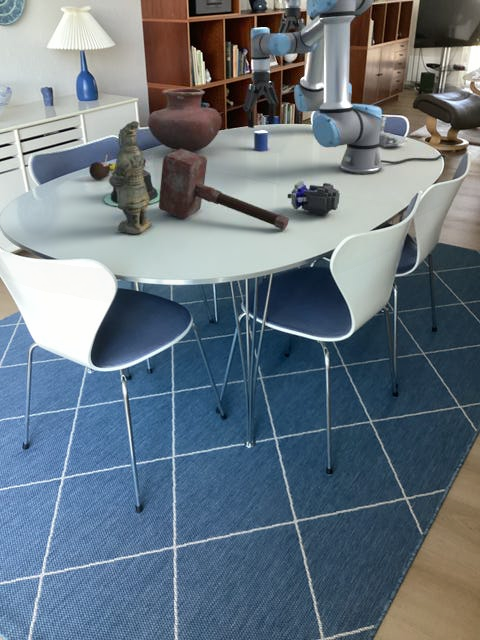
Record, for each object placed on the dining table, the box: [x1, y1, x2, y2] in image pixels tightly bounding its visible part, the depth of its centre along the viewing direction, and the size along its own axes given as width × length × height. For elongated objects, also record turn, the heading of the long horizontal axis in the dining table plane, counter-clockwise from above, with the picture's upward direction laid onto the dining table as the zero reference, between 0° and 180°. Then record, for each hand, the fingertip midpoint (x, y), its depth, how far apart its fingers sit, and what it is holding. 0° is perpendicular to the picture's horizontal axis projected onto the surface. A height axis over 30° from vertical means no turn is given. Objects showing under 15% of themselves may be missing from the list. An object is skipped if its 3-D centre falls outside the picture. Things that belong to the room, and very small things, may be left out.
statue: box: [108, 120, 153, 235], centre depth 154 cm, size 11×9×30 cm
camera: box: [378, 115, 408, 148], centre depth 239 cm, size 9×12×15 cm
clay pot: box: [147, 87, 223, 153], centre depth 235 cm, size 30×30×25 cm
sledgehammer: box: [158, 149, 290, 231], centre depth 163 cm, size 17×10×40 cm
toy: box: [287, 180, 341, 216], centre depth 168 cm, size 9×9×15 cm
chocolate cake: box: [103, 168, 160, 207], centre depth 186 cm, size 15×19×20 cm
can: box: [253, 130, 269, 152], centre depth 240 cm, size 6×6×8 cm
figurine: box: [88, 154, 147, 181], centre depth 212 cm, size 13×8×25 cm
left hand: (291, 55), depth 278 cm, fingers open, 13 cm apart
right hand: (261, 125), depth 236 cm, fingers open, 13 cm apart
